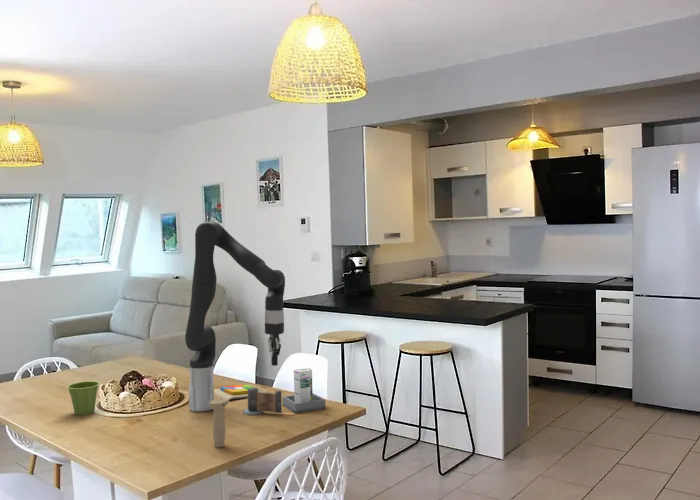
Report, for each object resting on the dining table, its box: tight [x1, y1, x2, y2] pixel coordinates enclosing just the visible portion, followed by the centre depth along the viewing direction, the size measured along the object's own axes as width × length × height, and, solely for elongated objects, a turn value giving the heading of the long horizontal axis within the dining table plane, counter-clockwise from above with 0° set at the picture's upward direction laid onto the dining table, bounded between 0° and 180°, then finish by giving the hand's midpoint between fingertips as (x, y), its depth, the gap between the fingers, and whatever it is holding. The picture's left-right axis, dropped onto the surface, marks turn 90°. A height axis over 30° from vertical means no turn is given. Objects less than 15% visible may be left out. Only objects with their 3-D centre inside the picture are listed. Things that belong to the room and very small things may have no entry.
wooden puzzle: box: [214, 383, 267, 402], centre depth 268 cm, size 18×19×4 cm
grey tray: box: [282, 392, 326, 414], centre depth 247 cm, size 13×13×4 cm
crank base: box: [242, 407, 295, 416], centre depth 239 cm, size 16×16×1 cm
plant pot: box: [66, 380, 101, 416], centre depth 242 cm, size 12×12×11 cm
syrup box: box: [293, 367, 314, 403], centre depth 247 cm, size 6×6×14 cm
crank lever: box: [247, 388, 283, 414], centre depth 239 cm, size 14×4×8 cm, turn 69°
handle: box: [209, 398, 229, 448], centre depth 202 cm, size 5×6×15 cm
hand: (274, 365), depth 240 cm, fingers closed
